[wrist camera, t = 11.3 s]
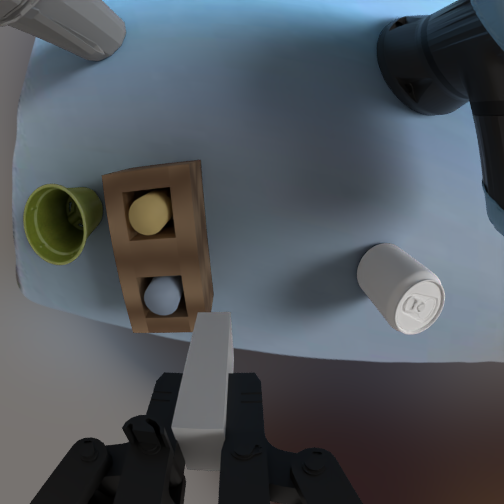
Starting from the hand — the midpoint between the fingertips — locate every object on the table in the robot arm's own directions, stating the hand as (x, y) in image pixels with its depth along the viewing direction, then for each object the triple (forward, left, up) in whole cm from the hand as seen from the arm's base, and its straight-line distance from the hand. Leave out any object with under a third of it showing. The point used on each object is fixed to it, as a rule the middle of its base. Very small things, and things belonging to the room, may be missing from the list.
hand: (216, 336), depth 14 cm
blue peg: (+6, -8, -24) cm, 26 cm away
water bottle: (-25, -15, -26) cm, 39 cm away
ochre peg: (-3, -8, -24) cm, 25 cm away
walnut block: (+2, -8, -25) cm, 26 cm away
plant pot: (-3, -20, -26) cm, 32 cm away
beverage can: (+9, +21, -26) cm, 34 cm away
